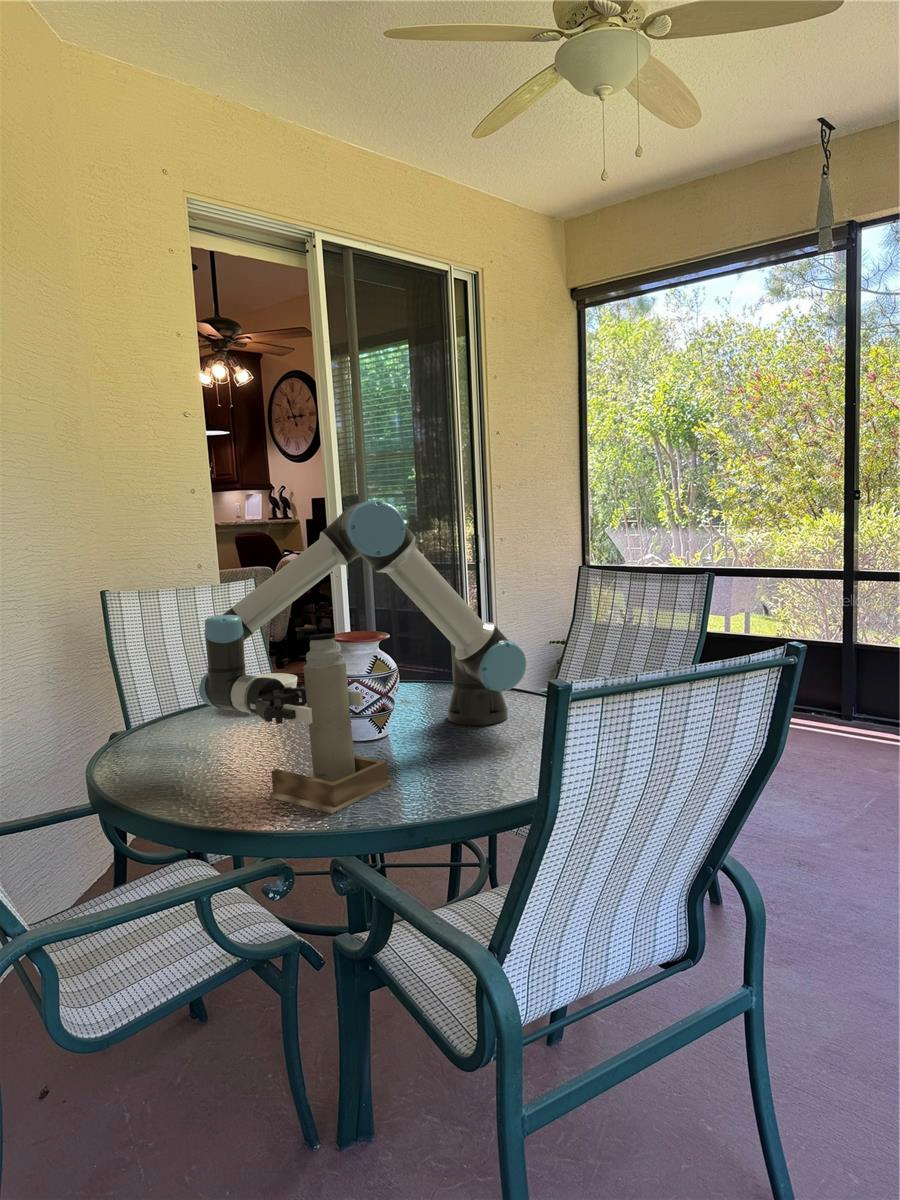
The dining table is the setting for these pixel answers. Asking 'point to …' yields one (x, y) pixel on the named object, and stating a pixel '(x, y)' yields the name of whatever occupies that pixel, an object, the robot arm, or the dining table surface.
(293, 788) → the walnut cradle
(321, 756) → the thermos bottle
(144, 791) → the dining table surface
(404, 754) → the dining table surface
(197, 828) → the dining table surface
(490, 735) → the dining table surface
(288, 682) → the bowl
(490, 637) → the robot arm
